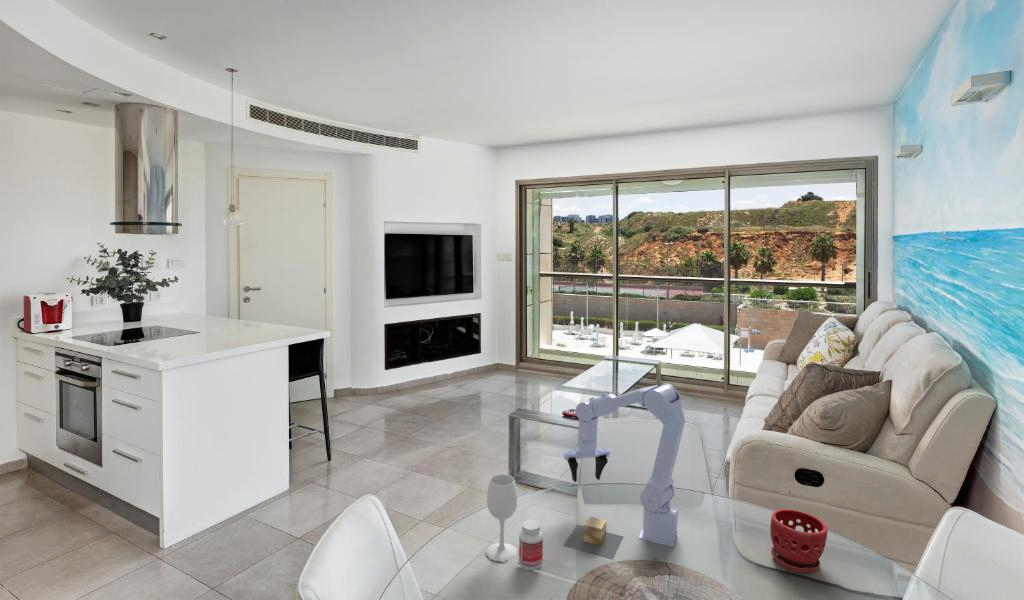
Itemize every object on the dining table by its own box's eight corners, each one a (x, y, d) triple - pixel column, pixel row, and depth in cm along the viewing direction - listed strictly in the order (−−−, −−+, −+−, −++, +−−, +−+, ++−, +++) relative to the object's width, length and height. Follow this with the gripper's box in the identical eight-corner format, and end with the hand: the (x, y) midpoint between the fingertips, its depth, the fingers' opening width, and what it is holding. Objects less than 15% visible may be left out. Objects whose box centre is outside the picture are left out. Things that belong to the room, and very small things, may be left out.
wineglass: (522, 548, 149) (523, 476, 146) (509, 566, 141) (510, 490, 138) (494, 540, 152) (495, 470, 150) (480, 557, 145) (480, 483, 142)
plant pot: (823, 584, 135) (826, 539, 133) (765, 566, 142) (768, 523, 140) (825, 557, 146) (828, 516, 144) (771, 542, 153) (774, 502, 151)
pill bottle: (547, 566, 141) (547, 526, 140) (527, 574, 138) (528, 533, 136) (533, 554, 146) (533, 516, 145) (514, 561, 143) (514, 522, 141)
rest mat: (623, 537, 154) (623, 536, 154) (612, 560, 144) (612, 559, 144) (577, 525, 160) (577, 524, 160) (563, 547, 150) (563, 545, 150)
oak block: (606, 536, 154) (606, 520, 153) (601, 546, 150) (601, 529, 149) (589, 532, 156) (589, 516, 156) (583, 541, 152) (584, 524, 151)
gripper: (604, 431, 173) (603, 471, 175) (561, 434, 170) (560, 475, 172) (613, 440, 167) (611, 481, 168) (568, 443, 164) (566, 485, 165)
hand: (586, 479), depth 170 cm, fingers open, 7 cm apart
